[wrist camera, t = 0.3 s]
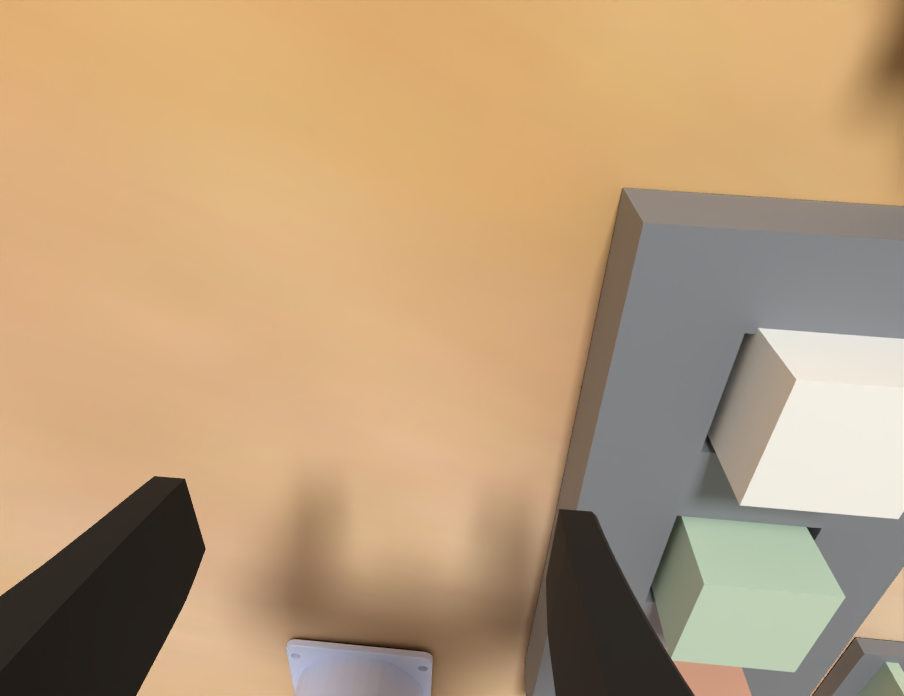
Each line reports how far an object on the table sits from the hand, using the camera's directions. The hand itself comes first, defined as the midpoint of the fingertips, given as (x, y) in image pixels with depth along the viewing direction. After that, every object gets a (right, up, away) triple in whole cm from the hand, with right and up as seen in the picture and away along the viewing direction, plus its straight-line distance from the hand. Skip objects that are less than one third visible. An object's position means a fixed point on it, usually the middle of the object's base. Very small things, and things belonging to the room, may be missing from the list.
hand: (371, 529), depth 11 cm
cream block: (+12, +3, +7) cm, 15 cm away
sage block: (+12, -4, +12) cm, 17 cm away
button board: (+12, -3, +13) cm, 18 cm away
